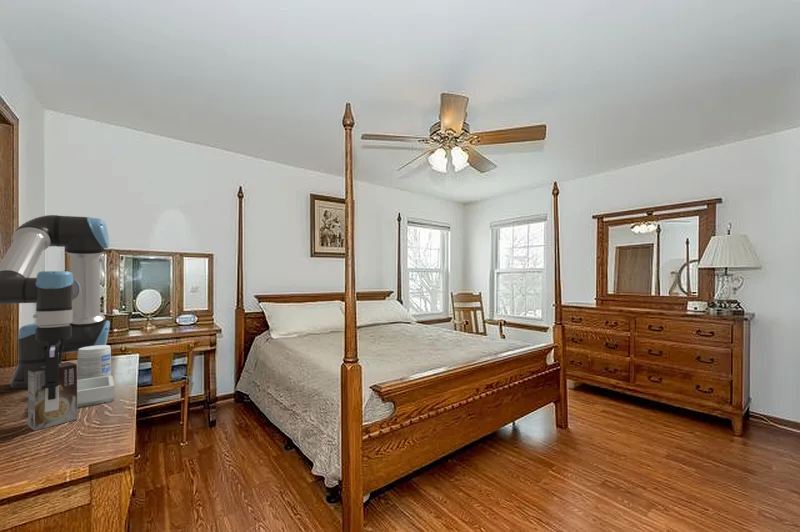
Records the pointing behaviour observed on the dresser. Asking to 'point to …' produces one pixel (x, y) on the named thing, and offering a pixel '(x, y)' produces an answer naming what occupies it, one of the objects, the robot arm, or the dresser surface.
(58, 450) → the dresser surface
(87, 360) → the supplement tub
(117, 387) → the dresser surface
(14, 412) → the dresser surface
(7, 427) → the dresser surface
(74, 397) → the coffee box
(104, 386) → the tote
